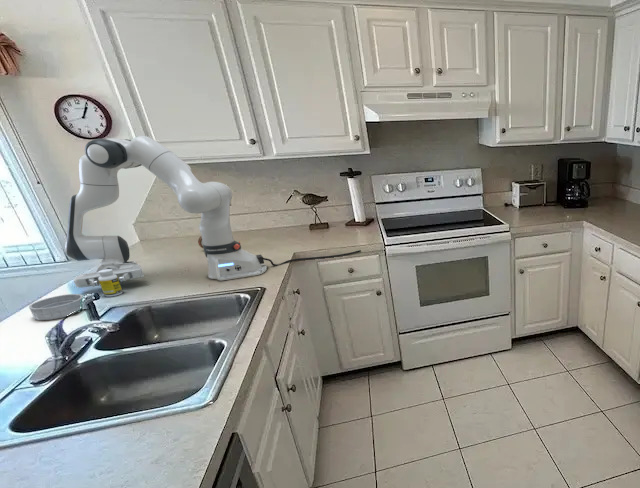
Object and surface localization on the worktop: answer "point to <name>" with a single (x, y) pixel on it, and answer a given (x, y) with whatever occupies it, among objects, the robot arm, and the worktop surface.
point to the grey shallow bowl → (55, 307)
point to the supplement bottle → (109, 283)
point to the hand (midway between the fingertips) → (108, 281)
